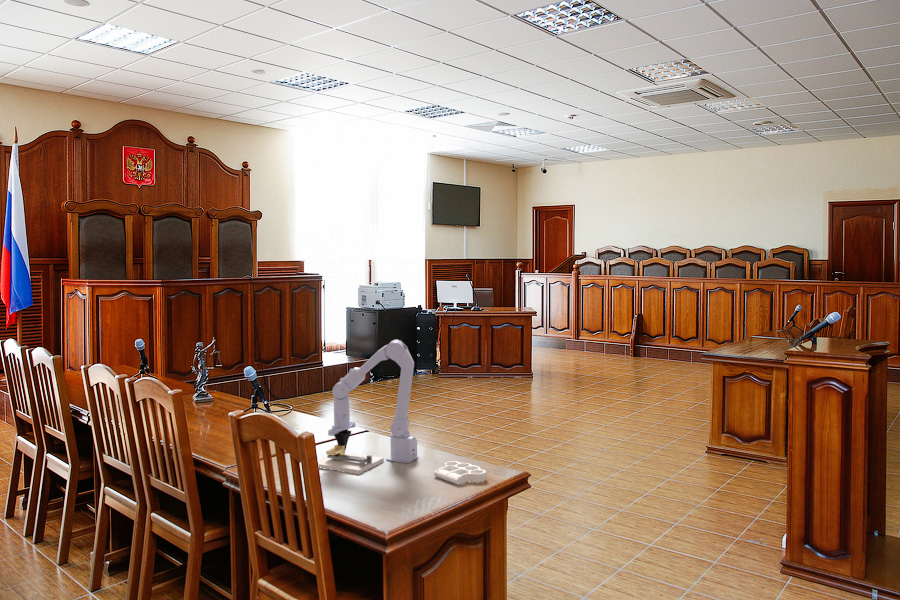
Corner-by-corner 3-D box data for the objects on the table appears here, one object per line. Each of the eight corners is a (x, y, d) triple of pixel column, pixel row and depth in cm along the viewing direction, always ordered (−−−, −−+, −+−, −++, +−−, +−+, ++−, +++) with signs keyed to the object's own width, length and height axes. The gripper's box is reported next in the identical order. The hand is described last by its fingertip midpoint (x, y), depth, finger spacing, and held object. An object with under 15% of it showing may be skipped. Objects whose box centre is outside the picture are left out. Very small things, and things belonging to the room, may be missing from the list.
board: (383, 461, 241) (383, 451, 241) (359, 474, 226) (359, 462, 226) (338, 455, 249) (338, 445, 249) (312, 467, 235) (312, 456, 235)
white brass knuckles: (427, 476, 225) (459, 467, 234) (463, 489, 211) (495, 479, 221) (427, 467, 224) (459, 458, 234) (463, 479, 211) (495, 469, 221)
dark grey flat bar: (369, 461, 234) (369, 457, 234) (365, 463, 231) (365, 459, 231) (332, 456, 241) (332, 452, 241) (327, 458, 238) (327, 454, 238)
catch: (345, 456, 242) (344, 445, 242) (334, 460, 237) (334, 449, 236) (336, 455, 244) (336, 444, 244) (326, 459, 238) (326, 448, 238)
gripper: (344, 409, 252) (344, 444, 252) (321, 417, 239) (321, 454, 239) (359, 411, 249) (360, 446, 249) (337, 419, 236) (337, 456, 236)
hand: (342, 450), depth 244 cm, fingers closed
